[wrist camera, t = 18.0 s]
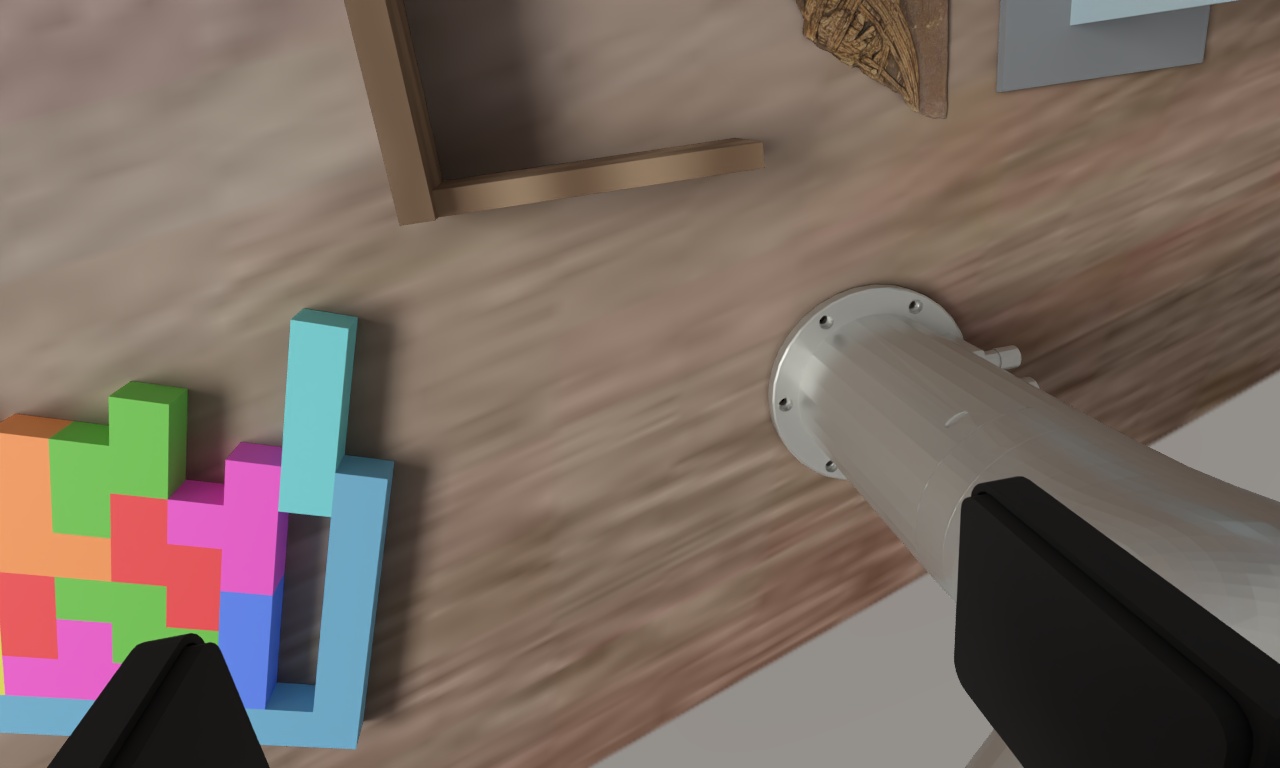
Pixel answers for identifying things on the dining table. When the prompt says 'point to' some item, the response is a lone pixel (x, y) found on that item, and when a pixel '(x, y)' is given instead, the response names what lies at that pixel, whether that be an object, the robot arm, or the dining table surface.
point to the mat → (1091, 43)
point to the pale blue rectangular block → (1128, 8)
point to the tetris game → (189, 550)
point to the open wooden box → (429, 197)
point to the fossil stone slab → (888, 44)
